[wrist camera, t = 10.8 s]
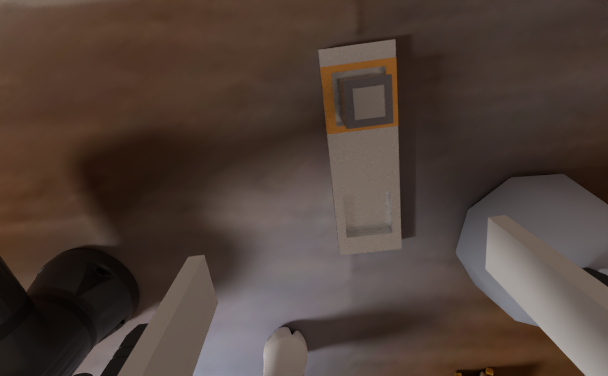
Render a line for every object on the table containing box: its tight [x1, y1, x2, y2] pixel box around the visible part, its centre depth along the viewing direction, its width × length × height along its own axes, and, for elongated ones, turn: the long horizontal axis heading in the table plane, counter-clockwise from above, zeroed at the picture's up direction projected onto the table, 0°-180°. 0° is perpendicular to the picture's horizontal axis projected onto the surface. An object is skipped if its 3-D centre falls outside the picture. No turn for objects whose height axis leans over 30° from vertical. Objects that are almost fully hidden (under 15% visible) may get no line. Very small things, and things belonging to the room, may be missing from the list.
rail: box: [318, 39, 402, 255], centre depth 44 cm, size 9×28×3 cm, turn 7°
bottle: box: [455, 174, 608, 326], centre depth 40 cm, size 20×20×19 cm
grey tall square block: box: [337, 73, 394, 129], centre depth 38 cm, size 5×5×8 cm
